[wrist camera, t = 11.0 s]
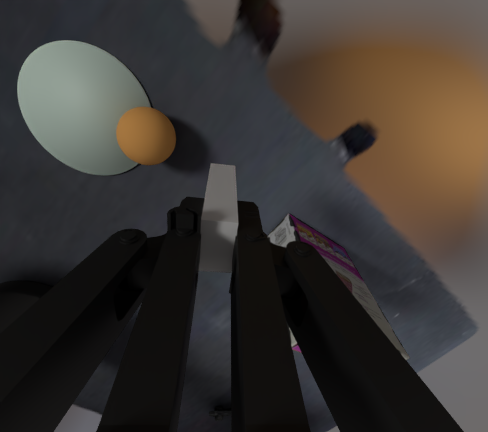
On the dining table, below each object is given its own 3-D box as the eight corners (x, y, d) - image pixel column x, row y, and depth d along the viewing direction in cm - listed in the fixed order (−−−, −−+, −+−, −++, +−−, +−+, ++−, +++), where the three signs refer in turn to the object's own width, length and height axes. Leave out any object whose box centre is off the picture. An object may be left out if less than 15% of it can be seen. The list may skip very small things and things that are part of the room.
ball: (132, 181, 25) (123, 157, 28) (187, 165, 26) (172, 145, 30) (110, 124, 21) (103, 105, 25) (176, 110, 23) (160, 95, 27)
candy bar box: (264, 237, 36) (287, 350, 22) (287, 211, 34) (329, 317, 20) (322, 269, 40) (372, 384, 26) (346, 248, 38) (414, 359, 24)
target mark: (156, 180, 31) (156, 180, 31) (38, 168, 29) (37, 169, 29) (150, 52, 24) (150, 52, 24) (-1, 29, 23) (-3, 29, 23)
